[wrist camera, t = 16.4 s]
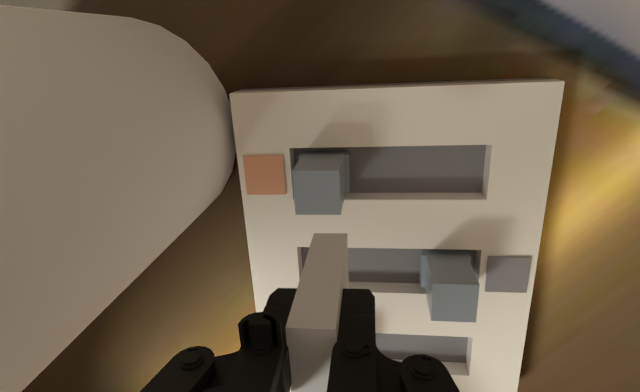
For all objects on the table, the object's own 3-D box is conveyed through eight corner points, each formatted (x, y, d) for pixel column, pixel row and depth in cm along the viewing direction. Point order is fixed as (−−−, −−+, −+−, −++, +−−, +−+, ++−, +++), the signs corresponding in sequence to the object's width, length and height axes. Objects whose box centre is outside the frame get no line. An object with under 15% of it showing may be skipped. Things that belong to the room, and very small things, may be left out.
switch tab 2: (419, 280, 33) (426, 320, 29) (420, 247, 32) (428, 283, 28) (465, 281, 33) (480, 322, 28) (468, 248, 32) (484, 285, 27)
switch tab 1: (303, 188, 32) (291, 214, 27) (301, 150, 31) (287, 171, 26) (350, 187, 31) (345, 214, 27) (349, 149, 30) (344, 170, 25)
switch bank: (274, 373, 41) (266, 399, 38) (242, 88, 32) (228, 93, 29) (503, 387, 38) (514, 416, 35) (546, 77, 29) (566, 81, 26)
